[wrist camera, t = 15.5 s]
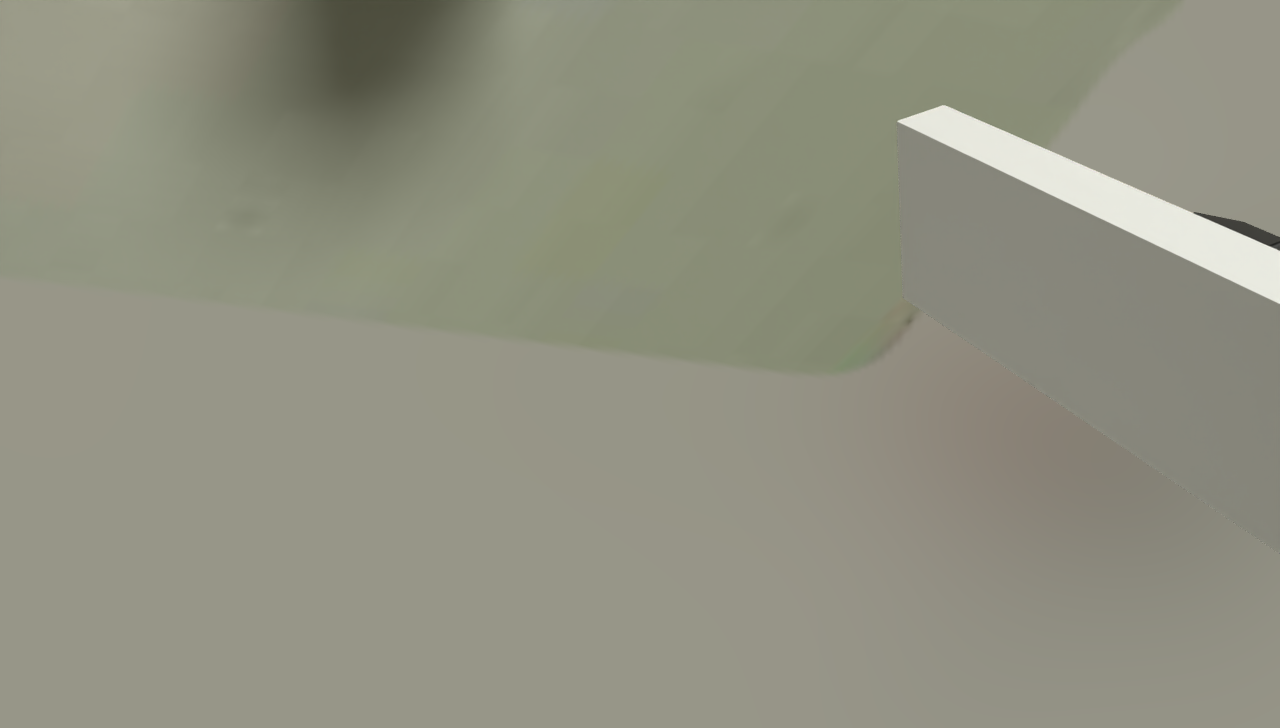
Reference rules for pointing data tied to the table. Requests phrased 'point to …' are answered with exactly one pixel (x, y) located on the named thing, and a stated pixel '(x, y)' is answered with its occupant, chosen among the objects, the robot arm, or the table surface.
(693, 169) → the table surface
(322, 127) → the table surface
